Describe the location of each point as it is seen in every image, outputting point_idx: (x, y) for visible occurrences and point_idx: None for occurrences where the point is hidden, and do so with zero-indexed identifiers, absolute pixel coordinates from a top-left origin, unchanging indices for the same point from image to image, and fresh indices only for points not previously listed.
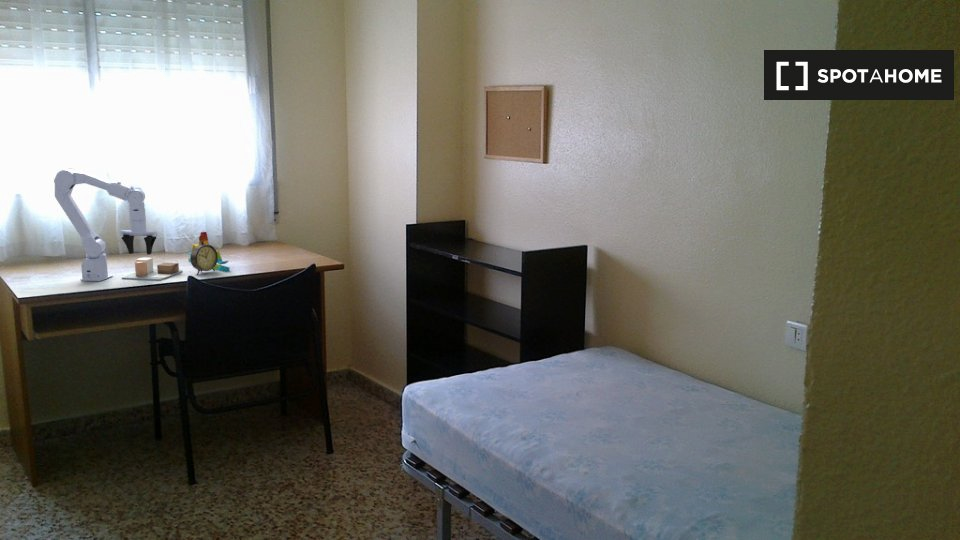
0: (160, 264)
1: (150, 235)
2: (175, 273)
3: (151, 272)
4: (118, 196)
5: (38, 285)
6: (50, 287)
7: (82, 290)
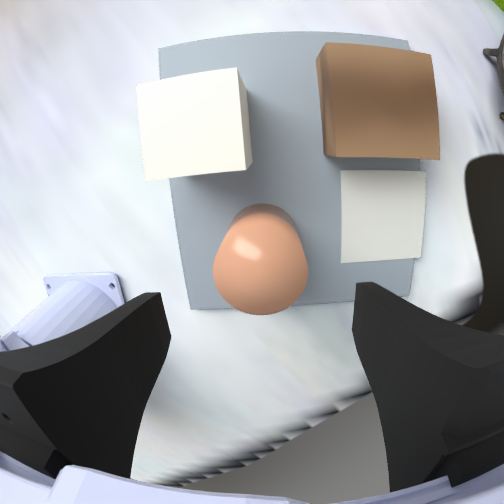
0: (345, 124)
1: (482, 484)
2: None
3: (262, 131)
4: None
5: None
6: None
7: (208, 455)
